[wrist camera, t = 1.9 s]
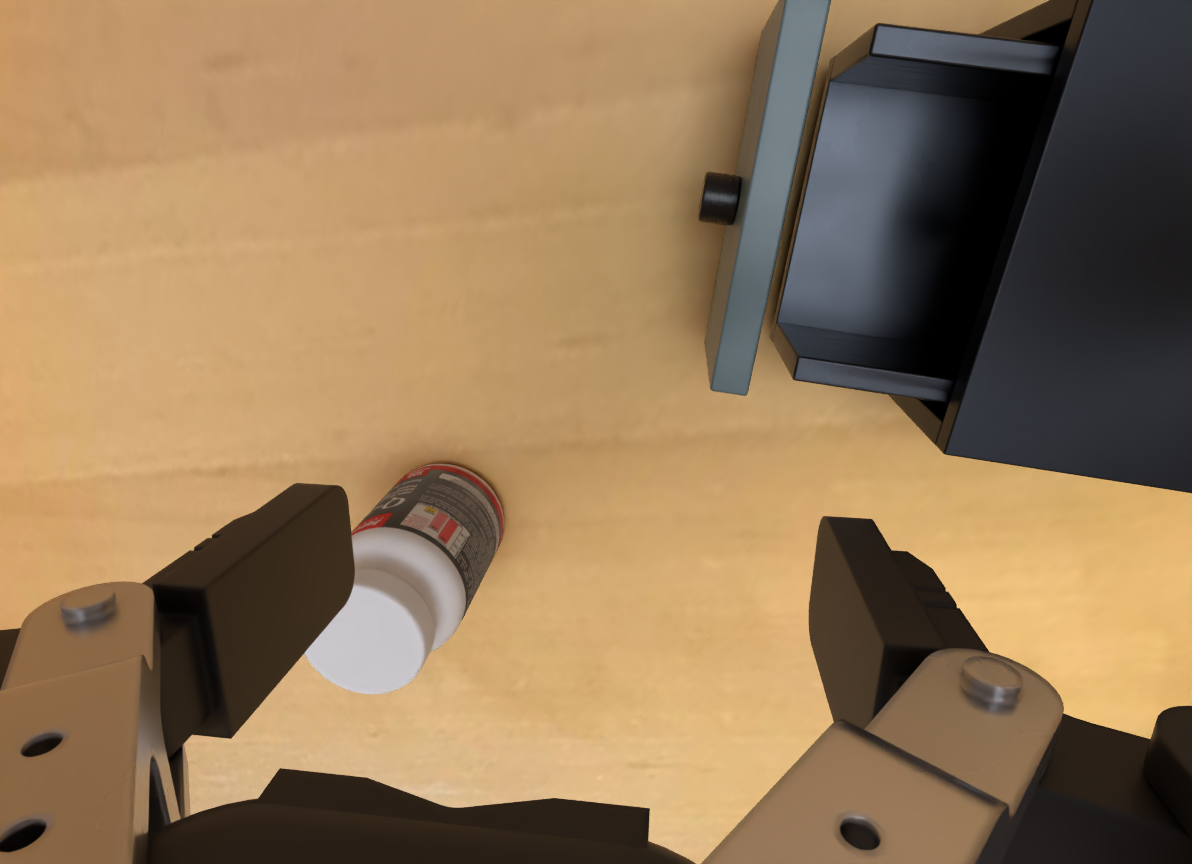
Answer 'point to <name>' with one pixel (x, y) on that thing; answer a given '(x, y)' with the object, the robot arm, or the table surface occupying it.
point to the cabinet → (1091, 263)
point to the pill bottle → (410, 578)
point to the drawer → (871, 201)
